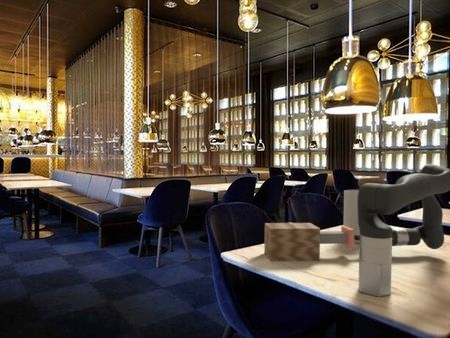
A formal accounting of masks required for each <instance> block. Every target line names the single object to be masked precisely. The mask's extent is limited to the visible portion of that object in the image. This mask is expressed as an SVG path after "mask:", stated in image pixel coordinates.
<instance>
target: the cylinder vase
mask: <svg viewBox="0 0 450 338" xmlns="http://www.w3.org/2000/svg"><path fill="white" fill-rule="evenodd" d="M358 192H359V189H347V190H346V189H345V190H343V225H342V226H347V227H349V228H351V229H354V234H360V229H359V225H358V203H357V199H358ZM354 244H359V245H360V240H354Z"/></svg>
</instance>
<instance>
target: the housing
mask: <svg viewBox="0 0 450 338" xmlns="http://www.w3.org/2000/svg"><path fill="white" fill-rule="evenodd" d="M320 231H321V228H320V227H318V226H316V225H314V224H313V223H312V222H290V221H289V222H274V223H273V222H265V223H264V255H265V256H266V258H267V259H268V260H269V262H320V258H321V257H320V254H321V252H320V251H321V244H320Z"/></svg>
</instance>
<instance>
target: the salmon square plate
mask: <svg viewBox="0 0 450 338" xmlns="http://www.w3.org/2000/svg"><path fill="white" fill-rule="evenodd" d="M323 244H324V245H325V244H326V245H329V244H330V245H331V244H333V245H336V244H337V245H338V244H340V245H341V246H343V247H345V248H346V249H348V250H354V249H355V243H354V229H351V228H349V227H347V226H343V225H341V229H340V230H339V231H330V230H328V231H322V230H320V245H323Z"/></svg>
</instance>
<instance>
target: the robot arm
mask: <svg viewBox="0 0 450 338" xmlns="http://www.w3.org/2000/svg"><path fill="white" fill-rule="evenodd" d="M358 190H359V192H358V199H357V203H358V225H359V229H360V234H354V240H360V244H359V247H358V248H359V249H358V251H359V252H358V253H359V254H358V255H359V256H358V291H359V292H360V293H363V294H366V295H370V296H374V297H379V298H381V297H386V296H389V295H390V294H392V267H393V266H392V263H393V261H392V257H393V247H404V246H417V245H419V244H420V243H421V240H422V241H423V243H424V244H425V245H426V247H427V248H429V249H432V250H439V249H440V248H441V247H442V246H443V245H444V243H445V233H444V228H443V215H444V213H443V209H442V206H441V205H440V202H439V201H438V200H437V198H436V196H435V195H437V194H445V193H447V192H449V191H450V168H449V167H443V166H441V165H436V164H431V163H427V164H425V165H424V166H423V167H422V168H421V170H420V172H419V173H417V172H416V173H410V174H406V175H403V176H401V177H399V178H398V179H397V180H396V182H395V184H388V183H387V184H386V183H374V182H366V183H363V184H362V185H361V186H360V187H359V189H358ZM418 201H421V204H422V216H421V217H422V220H421V221H422V225H421V226H417V227H413V228H400V227H399V228H398V227H392V226H390V225H388V224H386V223H385V222H383V221H382V220H381V219H380V218H379V217H378V215H385V216H387V215H393V214H395V213H396V212H398V211H399V210H401V209H402V208H404V207H406V206H408V205H411V204H412V203H416V202H418Z"/></svg>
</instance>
